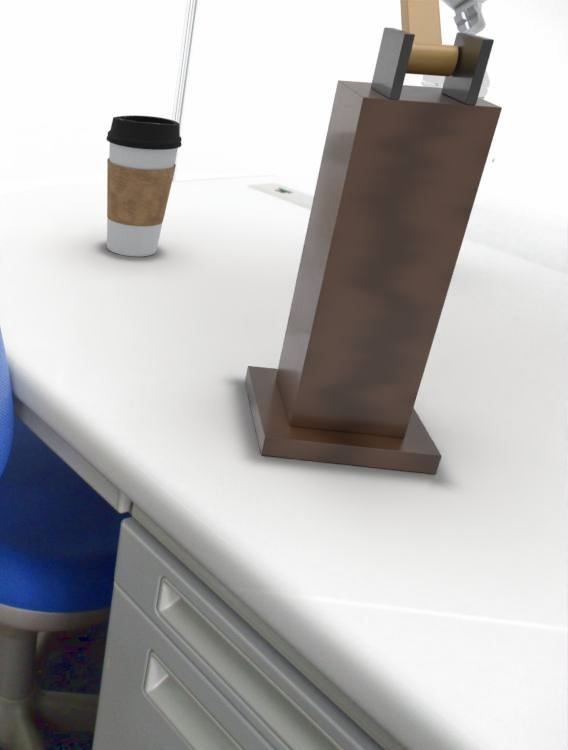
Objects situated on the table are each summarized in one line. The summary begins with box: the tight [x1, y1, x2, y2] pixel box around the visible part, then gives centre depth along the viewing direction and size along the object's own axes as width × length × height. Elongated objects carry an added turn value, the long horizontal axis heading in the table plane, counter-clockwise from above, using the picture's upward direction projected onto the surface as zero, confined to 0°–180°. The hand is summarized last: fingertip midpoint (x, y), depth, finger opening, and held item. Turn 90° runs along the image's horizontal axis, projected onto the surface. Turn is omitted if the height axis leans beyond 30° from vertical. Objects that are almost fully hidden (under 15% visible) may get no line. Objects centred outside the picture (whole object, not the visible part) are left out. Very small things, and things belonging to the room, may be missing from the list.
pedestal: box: [244, 27, 503, 475], centre depth 60 cm, size 12×12×28 cm
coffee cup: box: [106, 114, 183, 258], centre depth 99 cm, size 8×8×15 cm
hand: (449, 11), depth 71 cm, fingers open, 8 cm apart
